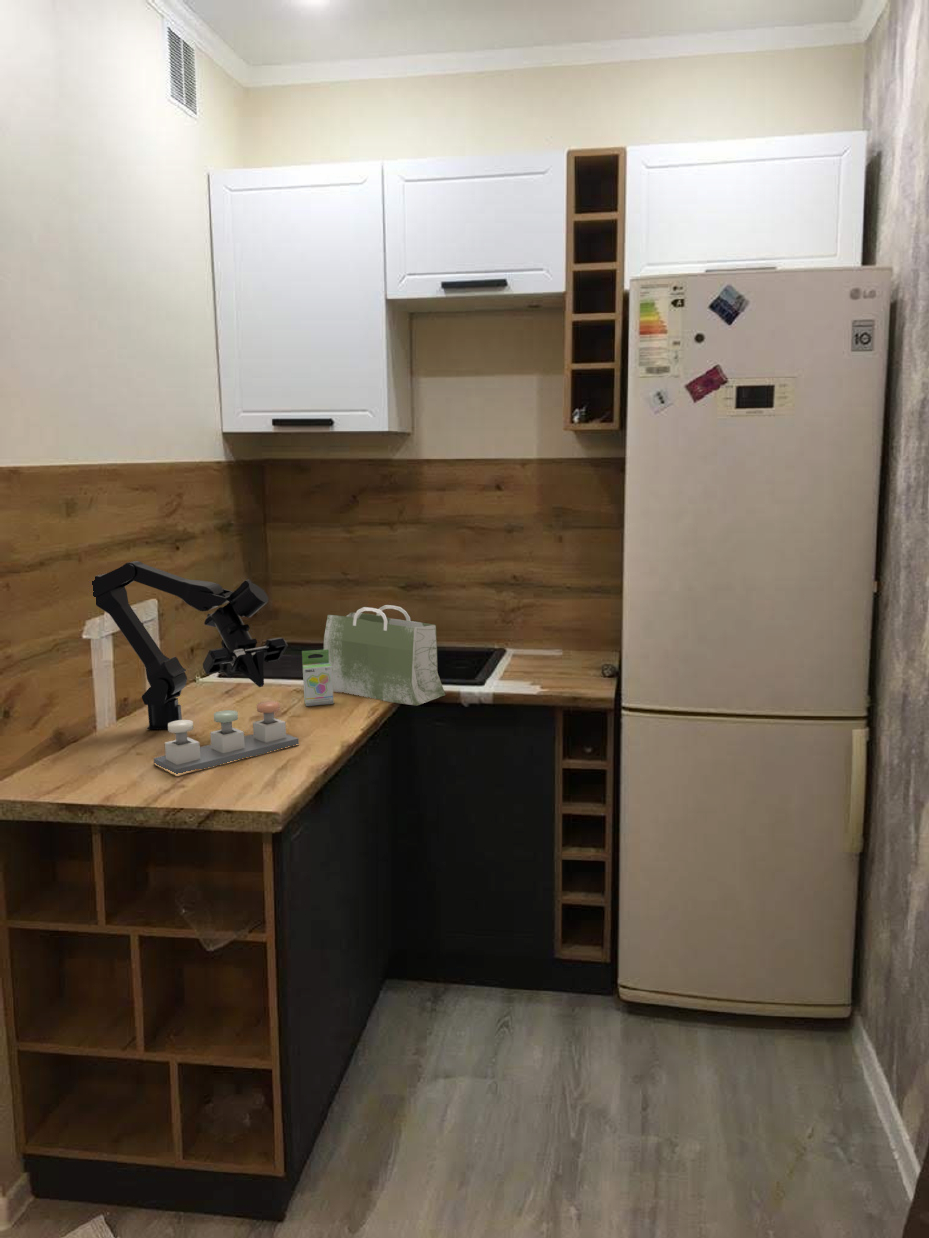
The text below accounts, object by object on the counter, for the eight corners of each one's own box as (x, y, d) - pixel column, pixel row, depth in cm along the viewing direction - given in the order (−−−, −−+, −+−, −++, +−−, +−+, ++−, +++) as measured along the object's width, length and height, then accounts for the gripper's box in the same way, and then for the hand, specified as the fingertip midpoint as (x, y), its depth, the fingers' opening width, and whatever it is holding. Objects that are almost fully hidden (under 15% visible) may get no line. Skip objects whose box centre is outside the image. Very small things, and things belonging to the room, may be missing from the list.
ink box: (305, 706, 233) (303, 654, 231) (304, 703, 237) (301, 651, 235) (333, 704, 235) (331, 651, 233) (331, 700, 239) (329, 648, 236)
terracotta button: (253, 724, 202) (252, 704, 202) (273, 720, 206) (271, 699, 205) (265, 729, 199) (264, 708, 198) (284, 724, 202) (283, 703, 201)
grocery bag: (448, 694, 243) (446, 605, 239) (415, 706, 231) (412, 613, 227) (354, 679, 261) (350, 597, 257) (320, 690, 249) (315, 604, 245)
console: (154, 765, 191) (152, 741, 190) (274, 735, 209) (272, 713, 209) (176, 776, 184) (174, 752, 183) (298, 745, 202) (297, 722, 201)
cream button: (165, 745, 189) (163, 723, 188) (187, 740, 192) (186, 718, 192) (176, 750, 186) (174, 727, 185) (198, 745, 189) (196, 722, 188)
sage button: (211, 734, 196) (209, 713, 195) (231, 729, 199) (230, 708, 198) (222, 739, 192) (220, 717, 192) (243, 734, 196) (241, 713, 195)
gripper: (257, 644, 222) (285, 698, 216) (184, 658, 210) (212, 715, 204) (273, 615, 215) (303, 670, 209) (198, 627, 202) (227, 685, 196)
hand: (261, 685), depth 205 cm, fingers closed
